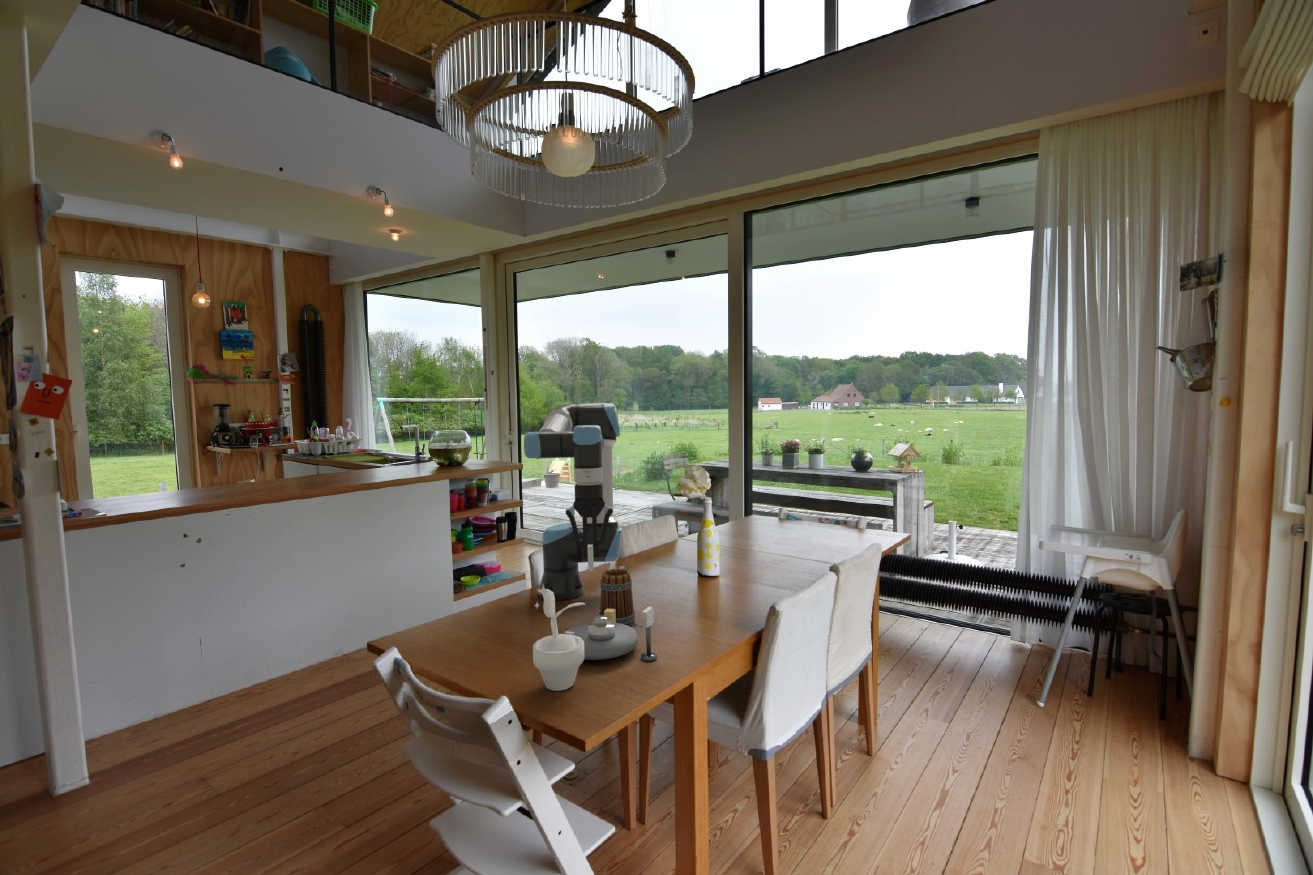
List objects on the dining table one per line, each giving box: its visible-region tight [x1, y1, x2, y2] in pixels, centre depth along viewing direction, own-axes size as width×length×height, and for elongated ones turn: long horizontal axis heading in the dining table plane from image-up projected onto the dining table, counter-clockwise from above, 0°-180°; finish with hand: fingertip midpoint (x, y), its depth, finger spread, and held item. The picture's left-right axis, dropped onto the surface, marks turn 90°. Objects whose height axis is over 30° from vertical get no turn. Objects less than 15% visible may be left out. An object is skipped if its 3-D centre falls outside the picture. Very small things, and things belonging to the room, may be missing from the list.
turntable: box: [562, 608, 638, 661], centre depth 159 cm, size 20×20×6 cm
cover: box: [588, 614, 615, 642], centre depth 159 cm, size 7×7×5 cm
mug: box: [598, 565, 636, 627], centre depth 181 cm, size 16×11×15 cm
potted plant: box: [532, 585, 586, 692], centre depth 139 cm, size 13×12×25 cm
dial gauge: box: [630, 606, 658, 662], centre depth 154 cm, size 7×4×12 cm, turn 66°
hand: (590, 569), depth 165 cm, fingers closed
